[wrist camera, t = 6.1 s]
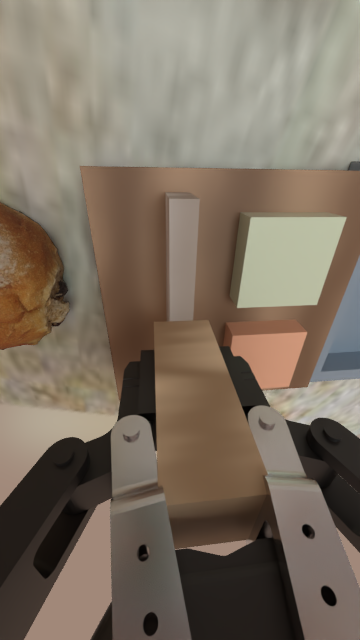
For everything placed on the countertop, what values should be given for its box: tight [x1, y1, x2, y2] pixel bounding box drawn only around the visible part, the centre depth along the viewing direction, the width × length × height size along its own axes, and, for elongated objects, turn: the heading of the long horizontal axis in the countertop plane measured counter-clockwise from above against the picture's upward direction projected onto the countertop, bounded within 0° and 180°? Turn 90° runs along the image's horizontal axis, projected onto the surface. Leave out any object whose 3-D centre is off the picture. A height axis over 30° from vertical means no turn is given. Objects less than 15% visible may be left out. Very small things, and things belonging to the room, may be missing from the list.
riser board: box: [80, 166, 360, 401], centre depth 18 cm, size 16×16×4 cm
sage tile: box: [230, 212, 347, 308], centre depth 14 cm, size 5×5×2 cm
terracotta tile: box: [223, 319, 307, 389], centre depth 18 cm, size 5×5×2 cm
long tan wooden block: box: [154, 192, 268, 549], centre depth 11 cm, size 3×14×11 cm, turn 179°
